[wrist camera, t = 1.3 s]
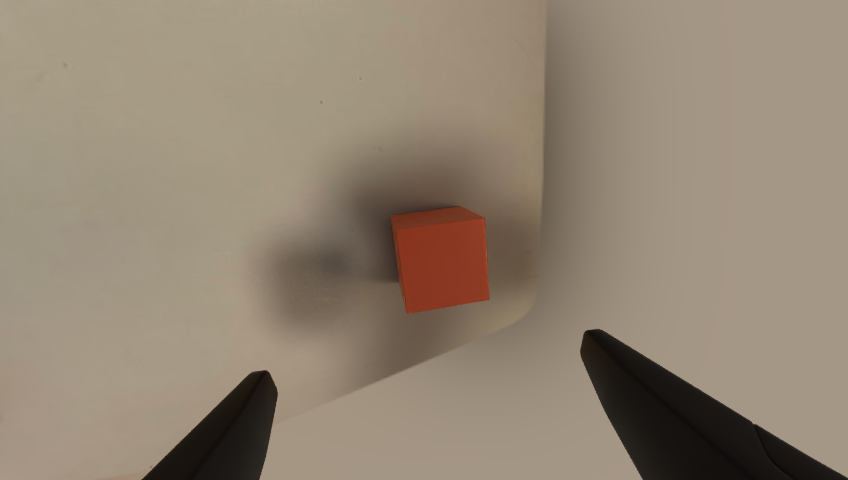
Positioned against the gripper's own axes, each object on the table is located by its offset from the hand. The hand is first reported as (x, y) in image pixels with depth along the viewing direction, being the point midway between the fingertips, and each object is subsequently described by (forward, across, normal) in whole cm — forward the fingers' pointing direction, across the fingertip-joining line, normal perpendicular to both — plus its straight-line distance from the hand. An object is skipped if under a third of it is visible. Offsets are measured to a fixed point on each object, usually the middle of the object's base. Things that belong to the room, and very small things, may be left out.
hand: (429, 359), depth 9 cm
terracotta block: (+13, -1, +4) cm, 14 cm away
